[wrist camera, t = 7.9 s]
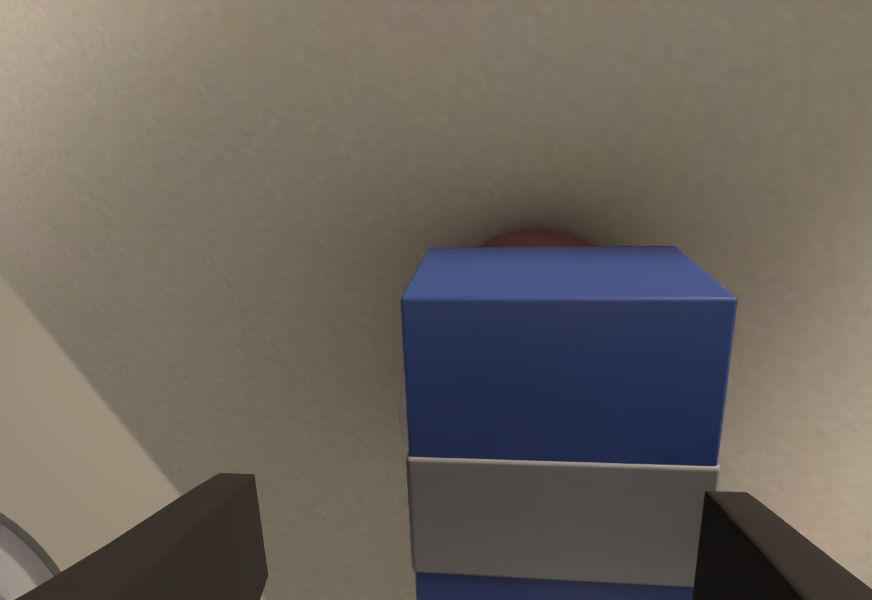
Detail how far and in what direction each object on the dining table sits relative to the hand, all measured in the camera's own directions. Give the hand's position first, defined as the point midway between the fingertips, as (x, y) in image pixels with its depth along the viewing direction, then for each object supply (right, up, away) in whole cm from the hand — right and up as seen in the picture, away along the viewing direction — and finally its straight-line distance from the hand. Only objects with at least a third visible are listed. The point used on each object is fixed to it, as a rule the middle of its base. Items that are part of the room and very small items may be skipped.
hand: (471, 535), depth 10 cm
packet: (+2, +1, +4) cm, 4 cm away
